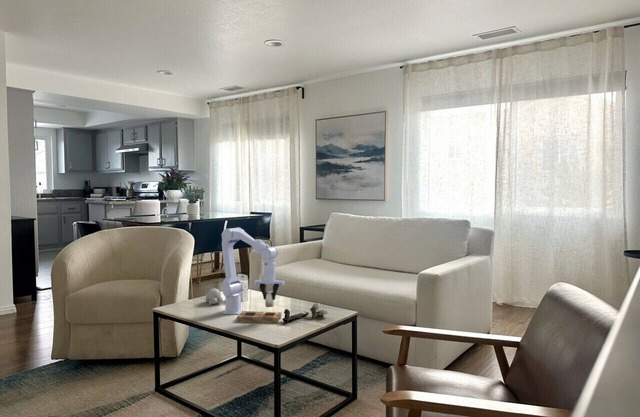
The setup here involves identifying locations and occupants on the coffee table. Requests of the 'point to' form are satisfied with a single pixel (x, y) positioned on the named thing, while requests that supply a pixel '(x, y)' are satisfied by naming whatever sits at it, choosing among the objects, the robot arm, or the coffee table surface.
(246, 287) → the ink cartridge box
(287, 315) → the artificial flower
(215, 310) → the coffee table surface
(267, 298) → the steel peg
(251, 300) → the coffee table surface
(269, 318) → the wooden board with recesses
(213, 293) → the round bodied animal figurine
